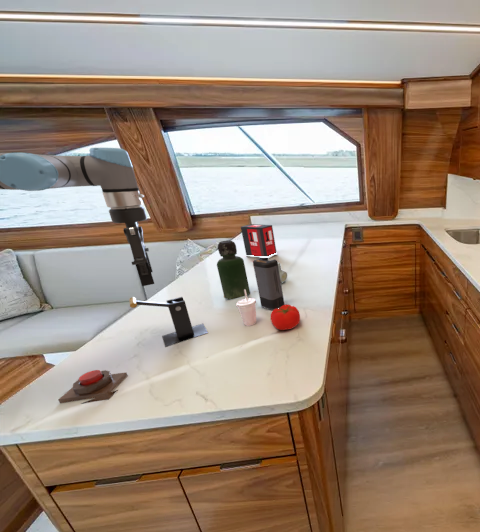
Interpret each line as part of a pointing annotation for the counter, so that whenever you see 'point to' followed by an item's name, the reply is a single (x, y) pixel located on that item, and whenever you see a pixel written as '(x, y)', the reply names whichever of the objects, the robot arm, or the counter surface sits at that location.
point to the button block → (94, 388)
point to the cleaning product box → (258, 240)
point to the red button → (90, 377)
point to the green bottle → (232, 271)
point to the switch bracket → (181, 324)
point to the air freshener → (282, 273)
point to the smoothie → (247, 310)
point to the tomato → (285, 317)
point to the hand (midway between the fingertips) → (147, 278)
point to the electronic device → (268, 283)
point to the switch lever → (147, 303)
